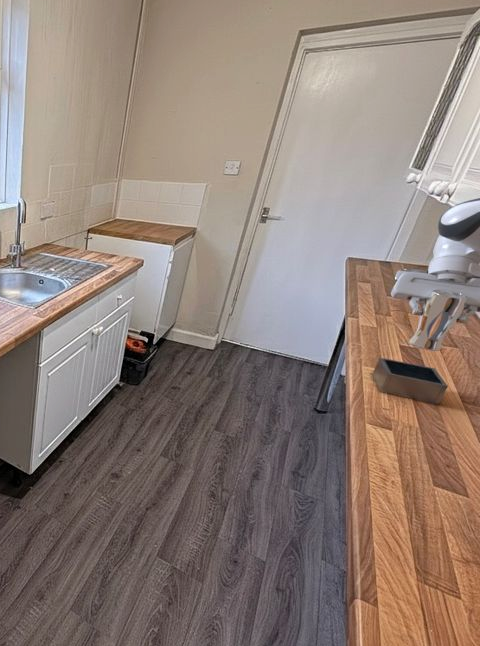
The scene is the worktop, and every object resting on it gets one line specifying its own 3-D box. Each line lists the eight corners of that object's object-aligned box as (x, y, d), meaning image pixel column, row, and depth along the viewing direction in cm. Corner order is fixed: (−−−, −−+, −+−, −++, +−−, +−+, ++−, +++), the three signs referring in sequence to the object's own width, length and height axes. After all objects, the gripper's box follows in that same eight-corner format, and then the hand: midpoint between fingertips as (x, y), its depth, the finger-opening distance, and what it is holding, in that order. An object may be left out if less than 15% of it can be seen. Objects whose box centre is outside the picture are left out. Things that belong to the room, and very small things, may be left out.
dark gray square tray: (425, 385, 119) (434, 368, 117) (438, 404, 110) (448, 386, 108) (372, 374, 125) (379, 357, 122) (379, 391, 116) (388, 373, 114)
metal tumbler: (401, 343, 113) (425, 292, 107) (412, 338, 116) (436, 288, 110) (436, 353, 108) (464, 300, 102) (447, 348, 111) (474, 295, 105)
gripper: (401, 261, 115) (388, 303, 112) (515, 275, 102) (504, 322, 100) (394, 273, 120) (381, 313, 117) (501, 288, 107) (490, 333, 104)
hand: (438, 318), depth 108 cm, fingers closed on metal tumbler, 7 cm apart
